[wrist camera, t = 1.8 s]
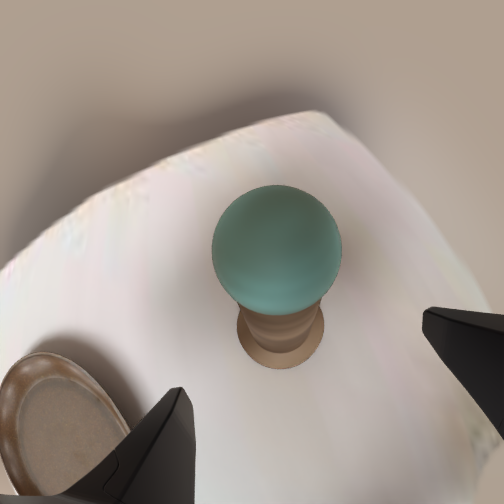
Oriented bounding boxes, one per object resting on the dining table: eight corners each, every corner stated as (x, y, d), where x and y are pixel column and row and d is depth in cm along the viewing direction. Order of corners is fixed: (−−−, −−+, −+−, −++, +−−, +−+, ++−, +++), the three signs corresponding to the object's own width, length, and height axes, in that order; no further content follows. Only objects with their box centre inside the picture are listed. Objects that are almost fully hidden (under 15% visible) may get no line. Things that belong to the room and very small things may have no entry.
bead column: (338, 330, 20) (409, 215, 8) (275, 385, 18) (260, 358, 6) (284, 276, 23) (279, 129, 11) (223, 324, 21) (145, 209, 9)
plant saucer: (201, 429, 17) (187, 433, 14) (136, 572, 7) (121, 584, 5) (43, 327, 22) (24, 316, 20) (5, 458, 13) (-13, 456, 10)
